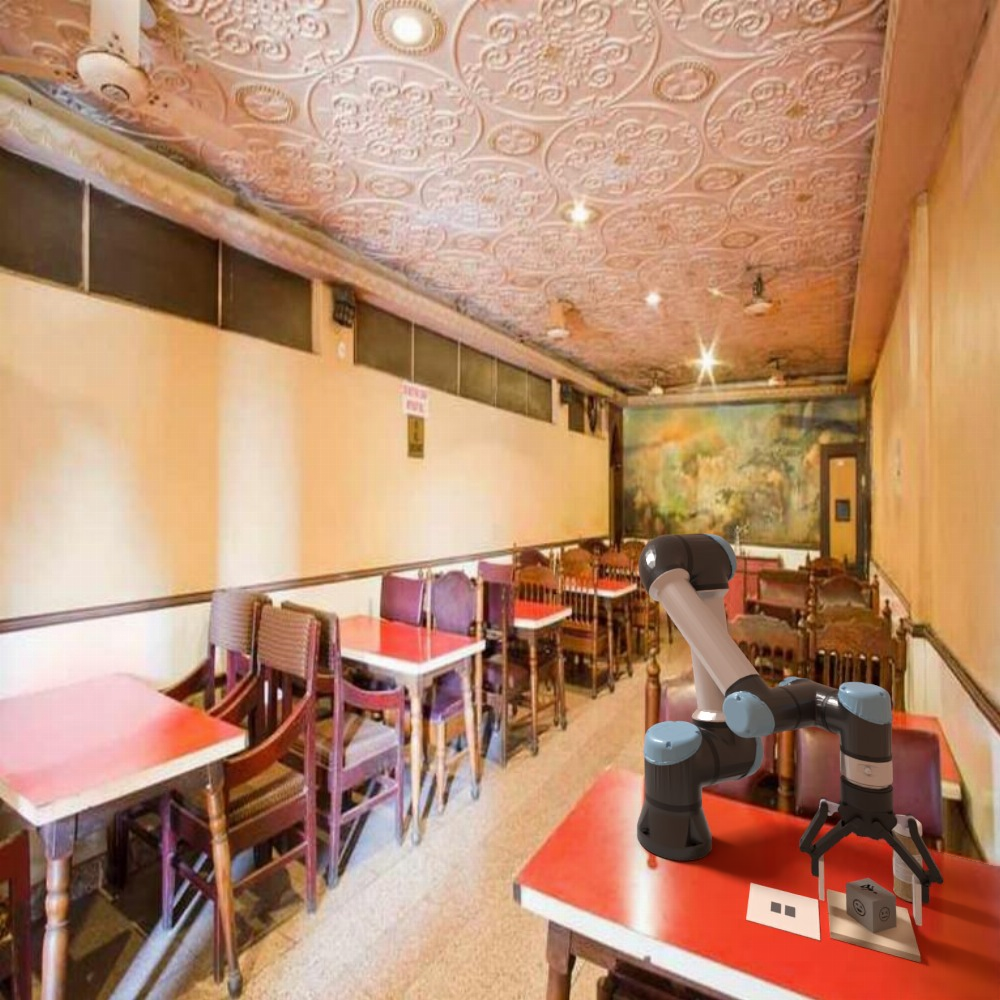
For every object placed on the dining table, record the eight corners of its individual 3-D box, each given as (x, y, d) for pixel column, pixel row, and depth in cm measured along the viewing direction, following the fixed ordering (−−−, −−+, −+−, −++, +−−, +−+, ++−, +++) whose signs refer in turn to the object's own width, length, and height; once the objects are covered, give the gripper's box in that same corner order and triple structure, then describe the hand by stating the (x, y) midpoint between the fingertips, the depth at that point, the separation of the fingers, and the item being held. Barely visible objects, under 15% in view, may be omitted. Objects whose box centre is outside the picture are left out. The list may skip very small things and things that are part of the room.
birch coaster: (830, 937, 95) (830, 931, 95) (827, 894, 106) (826, 889, 106) (920, 962, 89) (920, 956, 89) (907, 914, 100) (907, 908, 100)
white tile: (746, 919, 99) (746, 919, 99) (750, 883, 109) (750, 882, 109) (820, 940, 94) (820, 939, 94) (817, 900, 104) (817, 899, 104)
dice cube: (869, 907, 101) (868, 877, 101) (896, 926, 96) (895, 895, 96) (846, 913, 99) (845, 883, 99) (873, 933, 94) (872, 901, 94)
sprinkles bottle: (902, 885, 108) (900, 811, 108) (929, 899, 104) (927, 822, 104) (887, 892, 106) (885, 817, 106) (914, 907, 102) (912, 829, 102)
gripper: (783, 773, 100) (784, 898, 100) (964, 806, 89) (967, 947, 89) (783, 757, 107) (785, 874, 107) (953, 785, 96) (955, 916, 95)
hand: (868, 907), depth 98 cm, fingers open, 13 cm apart
